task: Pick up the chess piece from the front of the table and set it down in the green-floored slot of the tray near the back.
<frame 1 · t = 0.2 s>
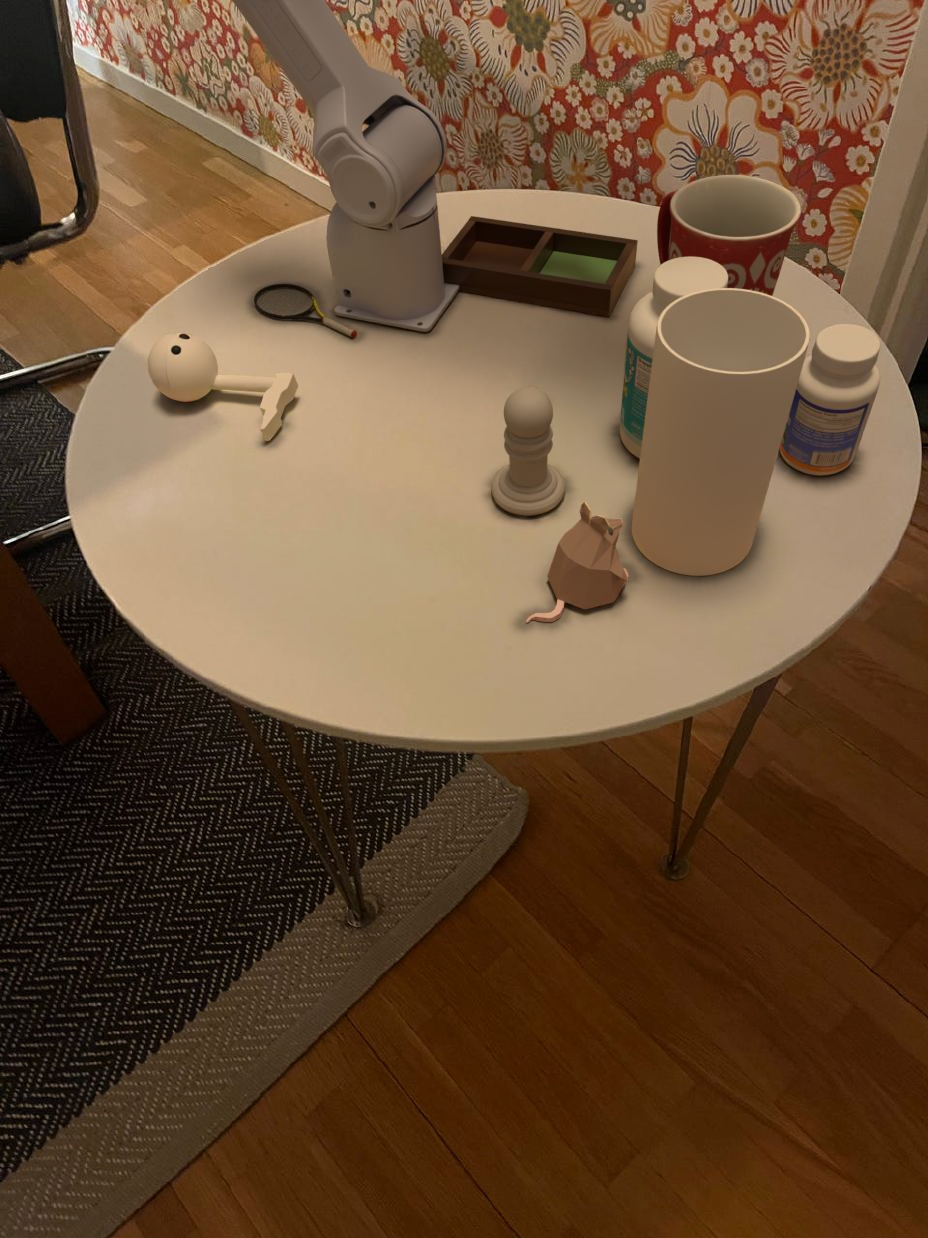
chess piece: (528, 494, 65), on the table
cup: (691, 533, 61), on the table
pill bottle: (666, 440, 67), on the table
mouse figurine: (572, 594, 58), on the table
pill bottle 2: (815, 454, 65), on the table
mug: (694, 356, 74), on the table
tennis racket: (284, 325, 79), on the table
tray: (536, 276, 82), on the table
figurine: (145, 376, 72), point 2 cm above the table
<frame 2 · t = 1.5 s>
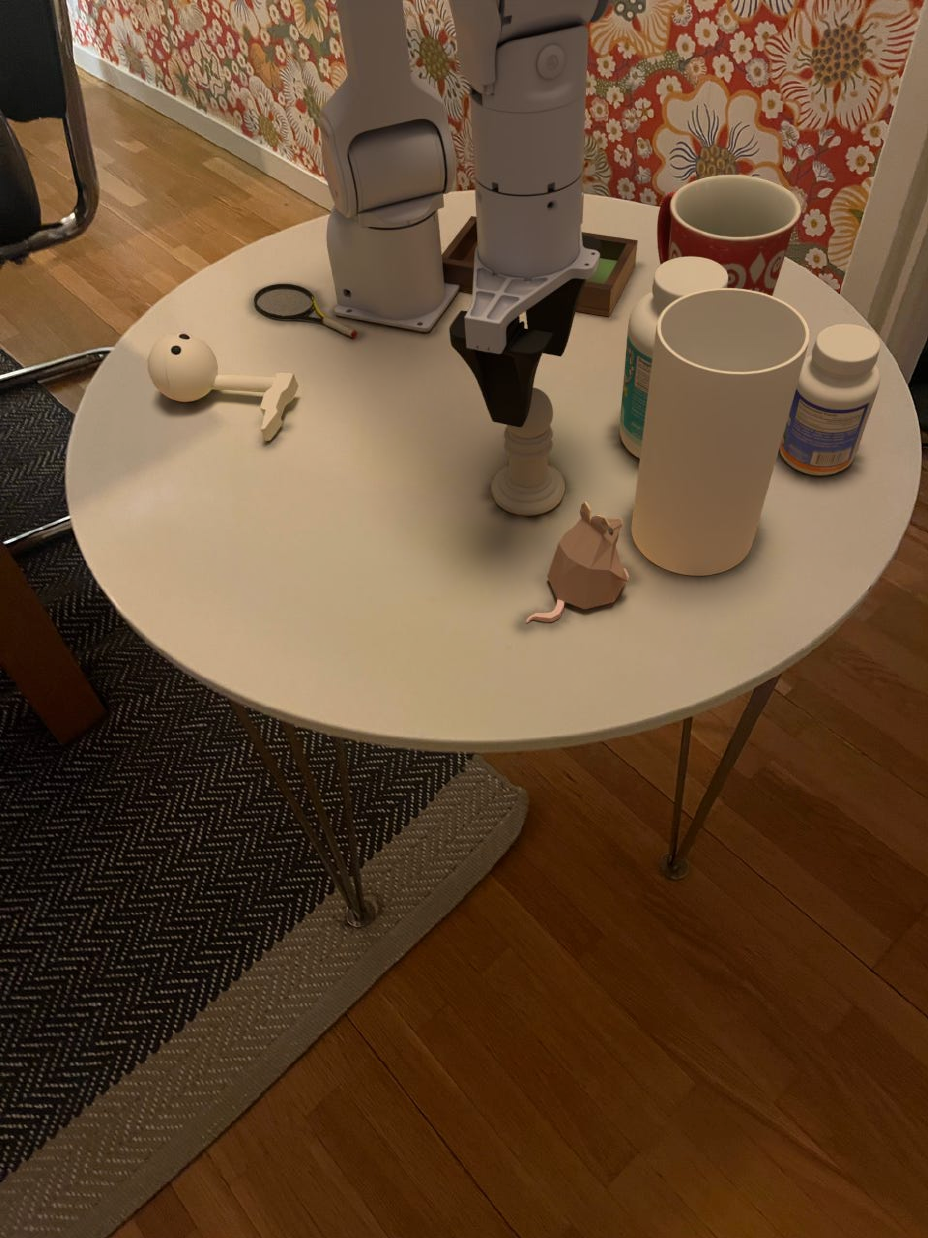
hand: (529, 384, 57), 10 cm above the table, tool pointing down, fingers open, 7 cm apart
nothing on the table moved.
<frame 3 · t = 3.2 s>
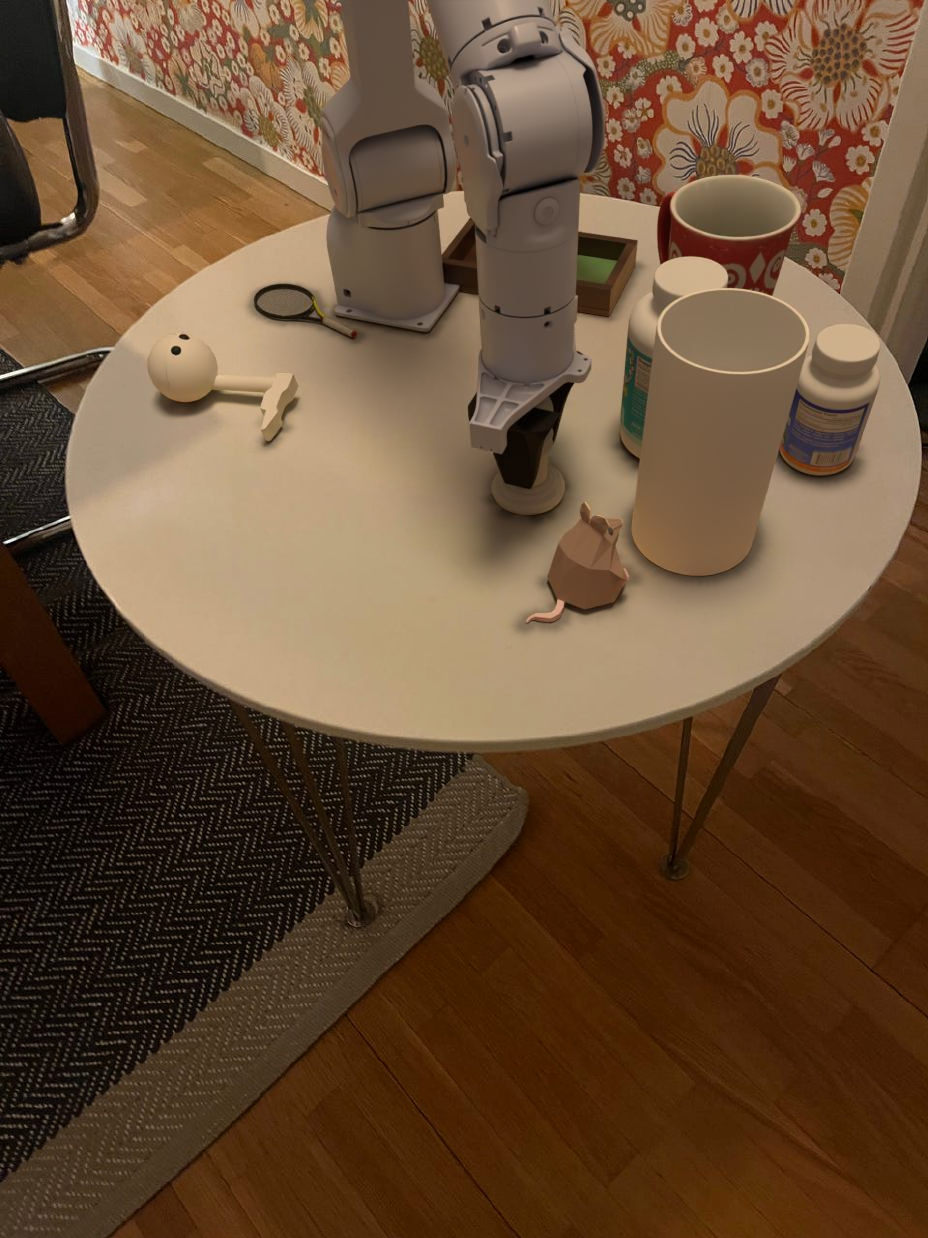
hand: (527, 465, 62), 3 cm above the table, tool pointing down, fingers closed on chess piece, 3 cm apart
chess piece: (528, 494, 65), on the table, touching gripper
everything else where it was.
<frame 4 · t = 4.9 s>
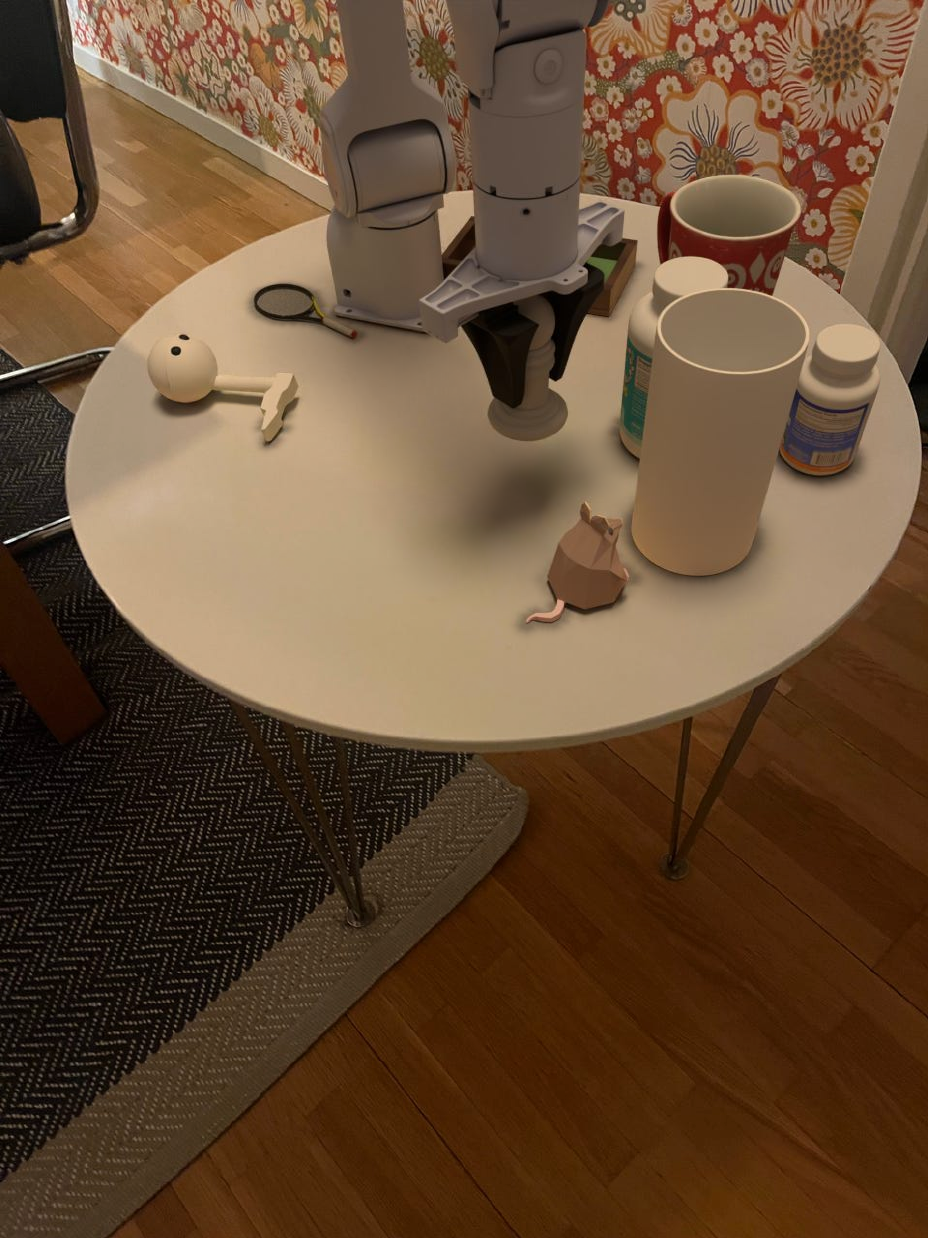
hand: (527, 386, 57), 9 cm above the table, tool pointing down, fingers closed on chess piece, 3 cm apart
chess piece: (527, 421, 59), point 7 cm above the table, touching gripper
everything else where it was.
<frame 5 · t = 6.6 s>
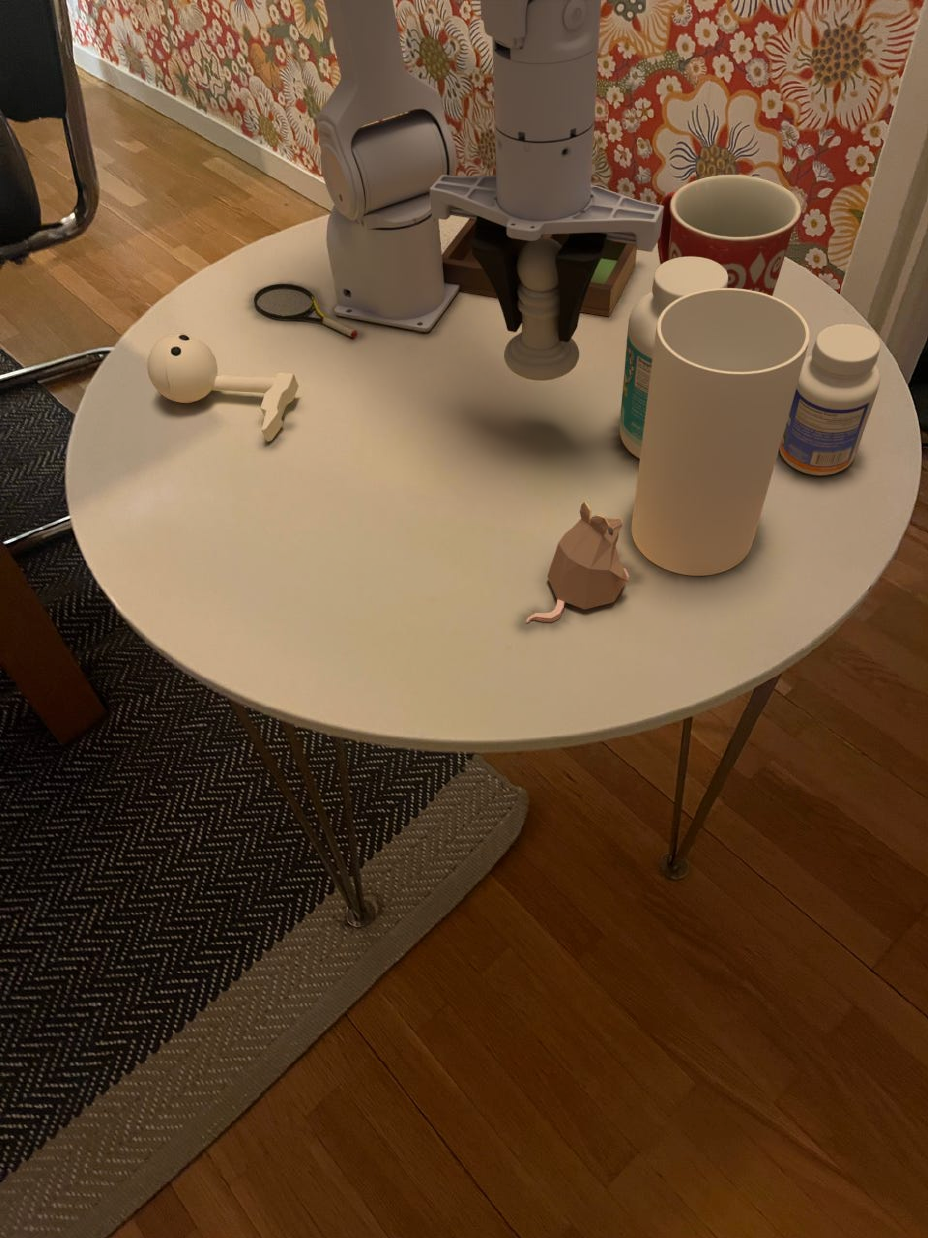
hand: (541, 328, 61), 9 cm above the table, tool pointing down, fingers closed on chess piece, 3 cm apart
chess piece: (541, 362, 63), point 6 cm above the table, touching gripper
everything else where it was.
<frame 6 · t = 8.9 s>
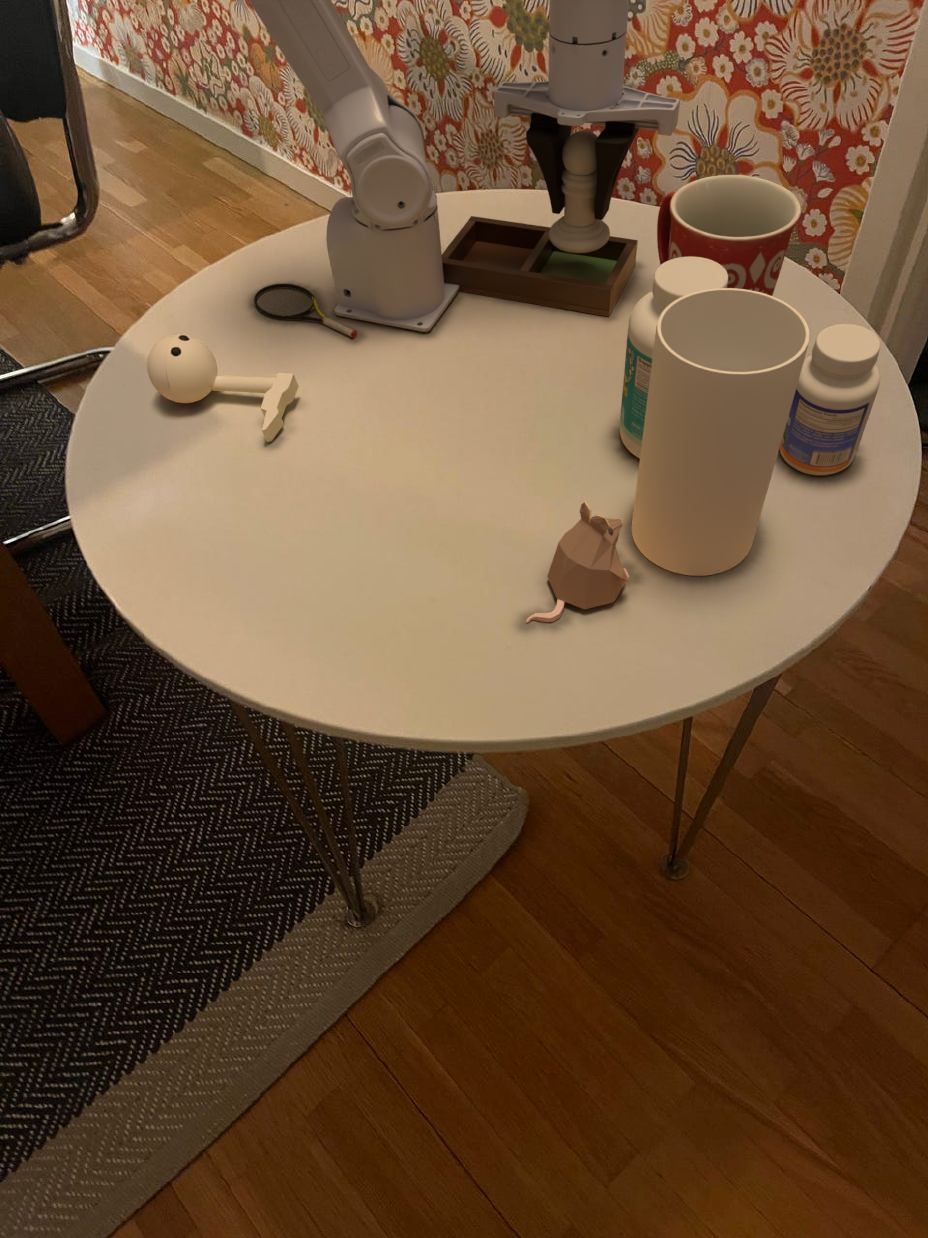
hand: (580, 210, 76), 7 cm above the table, tool pointing down, fingers closed on chess piece, 3 cm apart
chess piece: (578, 241, 78), point 4 cm above the table, touching gripper
everything else where it was.
when the fingers open (3 cm above the table, at t = 10.2 s): chess piece stays where it is, resting on tray.
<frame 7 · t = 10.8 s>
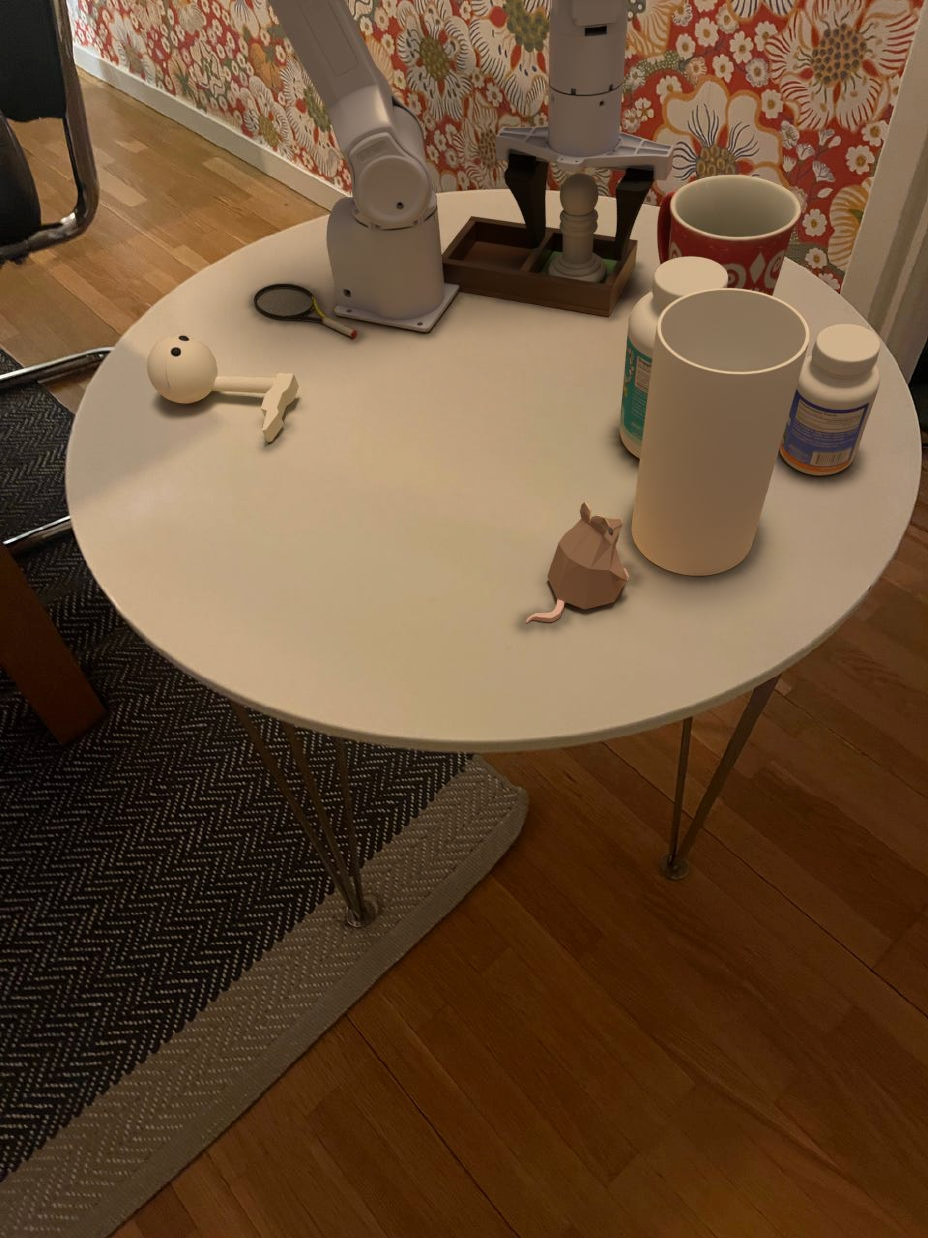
hand: (578, 248, 79), 3 cm above the table, tool pointing down, fingers open, 7 cm apart
chess piece: (577, 277, 81), point 1 cm above the table, touching tray
everything else where it was.
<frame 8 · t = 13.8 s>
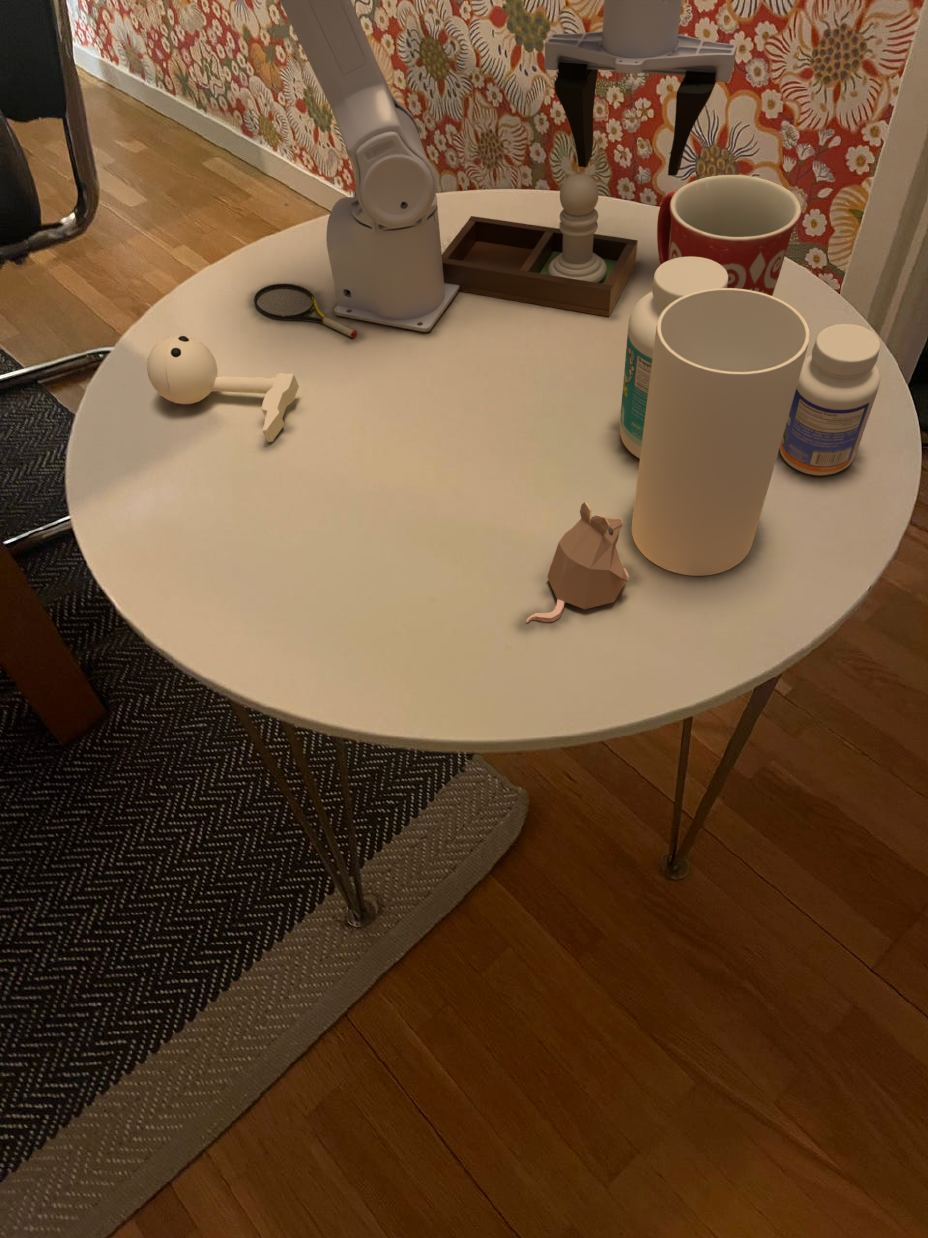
hand: (629, 165, 75), 9 cm above the table, tool pointing down, fingers open, 7 cm apart
nothing on the table moved.
at the end: chess piece 0.0 cm from the target spot in the tray, point 0.6 cm above the tray's base; the gripper is holding nothing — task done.
